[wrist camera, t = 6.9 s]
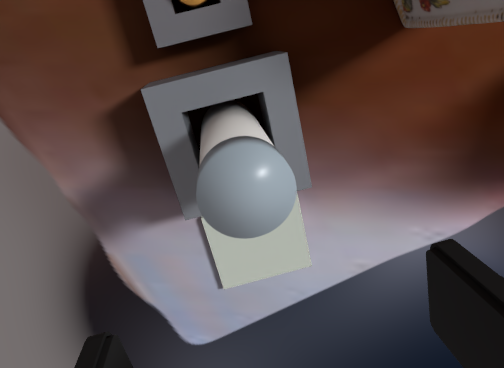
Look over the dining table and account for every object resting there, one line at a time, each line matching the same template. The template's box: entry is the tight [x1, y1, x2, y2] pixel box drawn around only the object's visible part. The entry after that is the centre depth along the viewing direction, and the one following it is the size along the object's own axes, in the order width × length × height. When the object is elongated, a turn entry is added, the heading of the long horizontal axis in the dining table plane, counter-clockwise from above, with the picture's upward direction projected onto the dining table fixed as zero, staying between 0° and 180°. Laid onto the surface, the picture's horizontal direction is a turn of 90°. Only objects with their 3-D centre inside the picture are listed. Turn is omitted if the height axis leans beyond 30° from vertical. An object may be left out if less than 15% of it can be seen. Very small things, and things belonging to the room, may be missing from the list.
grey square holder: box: [141, 51, 312, 220], centre depth 32 cm, size 11×11×5 cm
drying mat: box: [201, 194, 312, 289], centre depth 39 cm, size 9×10×1 cm
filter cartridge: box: [196, 100, 297, 239], centre depth 27 cm, size 5×5×16 cm
